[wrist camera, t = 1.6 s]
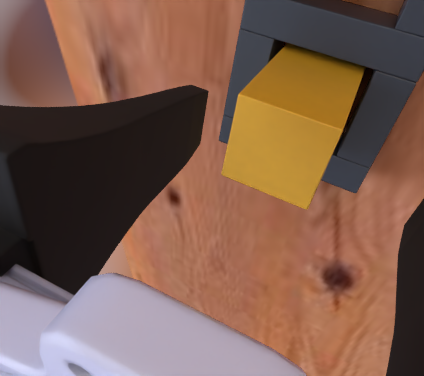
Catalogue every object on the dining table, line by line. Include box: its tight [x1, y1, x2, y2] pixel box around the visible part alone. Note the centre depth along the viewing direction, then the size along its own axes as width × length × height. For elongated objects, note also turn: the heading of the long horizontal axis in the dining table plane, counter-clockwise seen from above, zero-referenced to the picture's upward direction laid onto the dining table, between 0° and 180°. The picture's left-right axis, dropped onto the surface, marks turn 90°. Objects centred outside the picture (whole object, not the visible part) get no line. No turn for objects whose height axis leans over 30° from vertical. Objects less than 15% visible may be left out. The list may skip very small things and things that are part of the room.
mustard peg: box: [222, 43, 366, 210], centre depth 18 cm, size 4×4×8 cm
